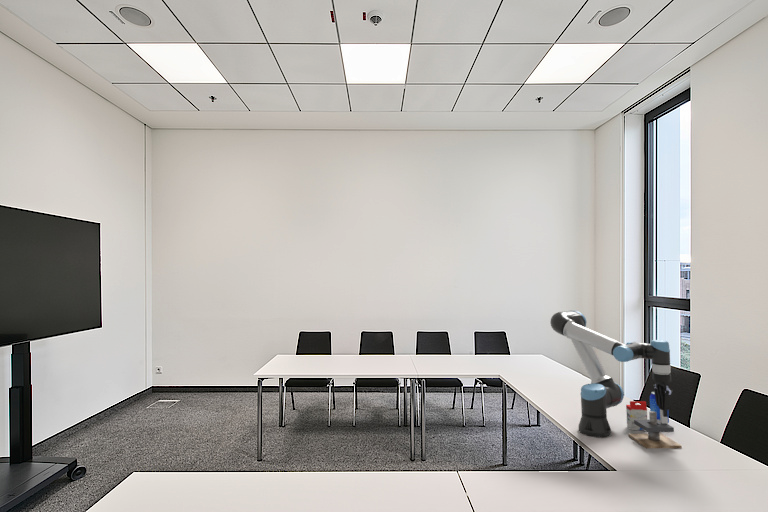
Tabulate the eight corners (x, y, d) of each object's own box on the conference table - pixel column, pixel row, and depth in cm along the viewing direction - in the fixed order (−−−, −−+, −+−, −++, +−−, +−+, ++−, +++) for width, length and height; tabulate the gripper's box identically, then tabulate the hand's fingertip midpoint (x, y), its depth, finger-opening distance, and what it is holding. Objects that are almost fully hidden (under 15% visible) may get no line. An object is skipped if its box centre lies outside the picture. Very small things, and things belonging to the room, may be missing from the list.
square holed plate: (647, 432, 211) (647, 427, 211) (634, 423, 223) (634, 419, 223) (673, 431, 211) (673, 427, 211) (659, 423, 223) (658, 419, 223)
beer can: (672, 425, 239) (671, 395, 240) (656, 426, 239) (655, 395, 240) (663, 420, 247) (661, 391, 248) (647, 421, 247) (646, 391, 248)
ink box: (643, 427, 238) (642, 398, 238) (648, 430, 233) (647, 401, 233) (626, 427, 238) (625, 398, 239) (630, 430, 234) (629, 401, 234)
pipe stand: (646, 448, 209) (644, 417, 210) (628, 436, 225) (627, 407, 226) (681, 448, 208) (680, 417, 209) (661, 435, 224) (660, 407, 225)
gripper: (678, 375, 211) (680, 427, 210) (661, 370, 224) (664, 418, 223) (661, 376, 212) (664, 427, 210) (646, 370, 225) (648, 418, 223)
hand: (664, 422), depth 217 cm, fingers closed
